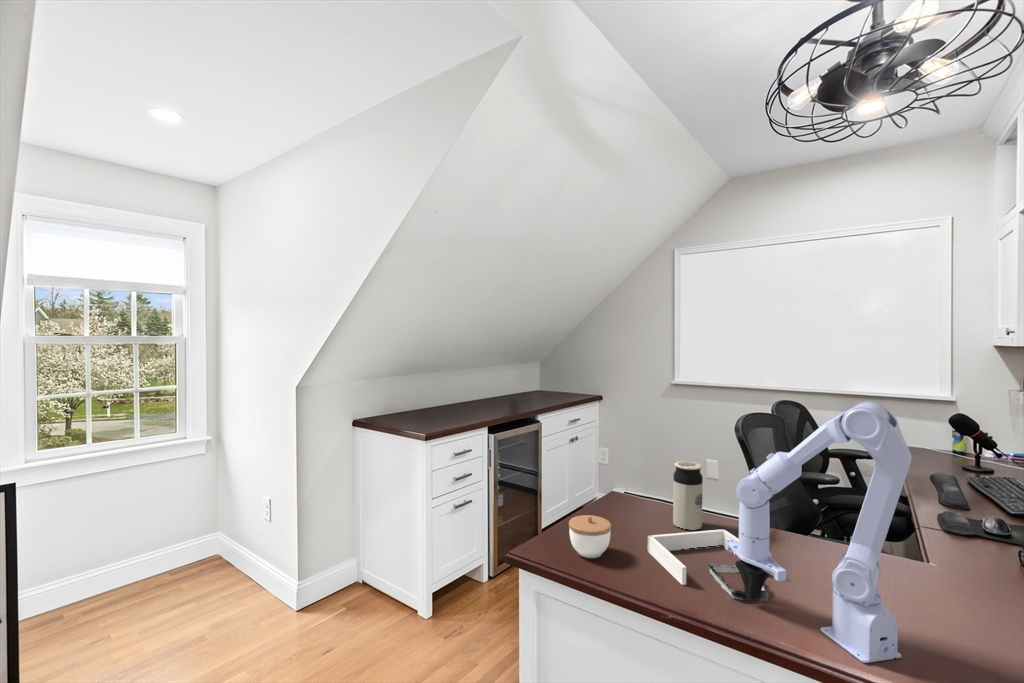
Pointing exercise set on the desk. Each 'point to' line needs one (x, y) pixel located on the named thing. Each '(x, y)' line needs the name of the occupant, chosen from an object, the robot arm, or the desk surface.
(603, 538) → the lidded jar
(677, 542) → the box
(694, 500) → the travel mug
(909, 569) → the desk surface
